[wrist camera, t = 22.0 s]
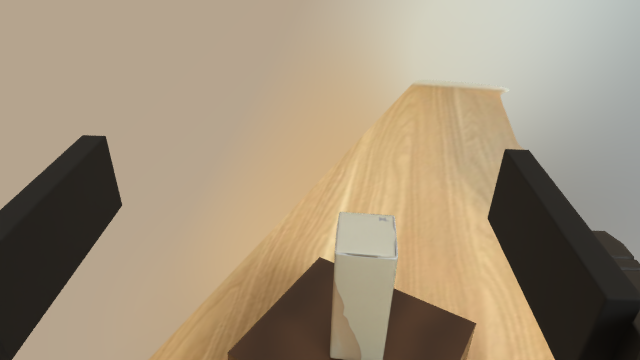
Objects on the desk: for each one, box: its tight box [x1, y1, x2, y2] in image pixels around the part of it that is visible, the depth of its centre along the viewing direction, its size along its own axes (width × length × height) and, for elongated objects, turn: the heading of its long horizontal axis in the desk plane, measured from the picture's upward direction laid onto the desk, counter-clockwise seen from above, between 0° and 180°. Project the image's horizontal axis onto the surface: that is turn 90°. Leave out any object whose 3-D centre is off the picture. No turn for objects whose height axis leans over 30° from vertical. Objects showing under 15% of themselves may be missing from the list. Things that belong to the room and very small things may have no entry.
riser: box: [228, 257, 476, 360], centre depth 40 cm, size 16×14×5 cm
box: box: [330, 212, 398, 360], centre depth 36 cm, size 5×4×11 cm
